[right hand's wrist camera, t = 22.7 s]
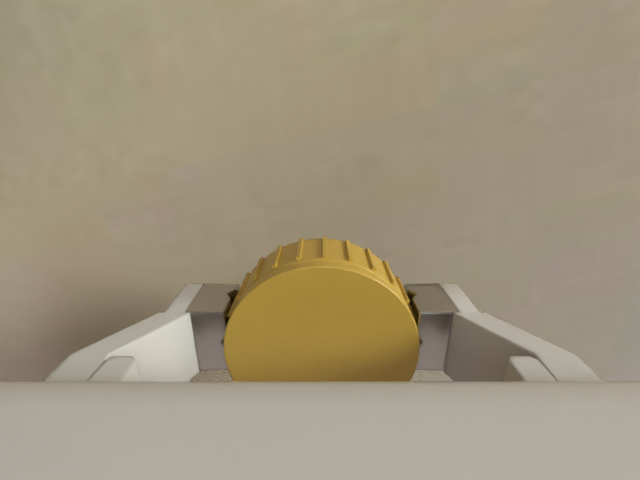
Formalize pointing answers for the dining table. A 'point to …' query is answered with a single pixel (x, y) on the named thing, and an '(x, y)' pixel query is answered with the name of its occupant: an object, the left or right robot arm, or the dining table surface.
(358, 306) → the lid
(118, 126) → the dining table surface
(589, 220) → the dining table surface
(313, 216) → the dining table surface
